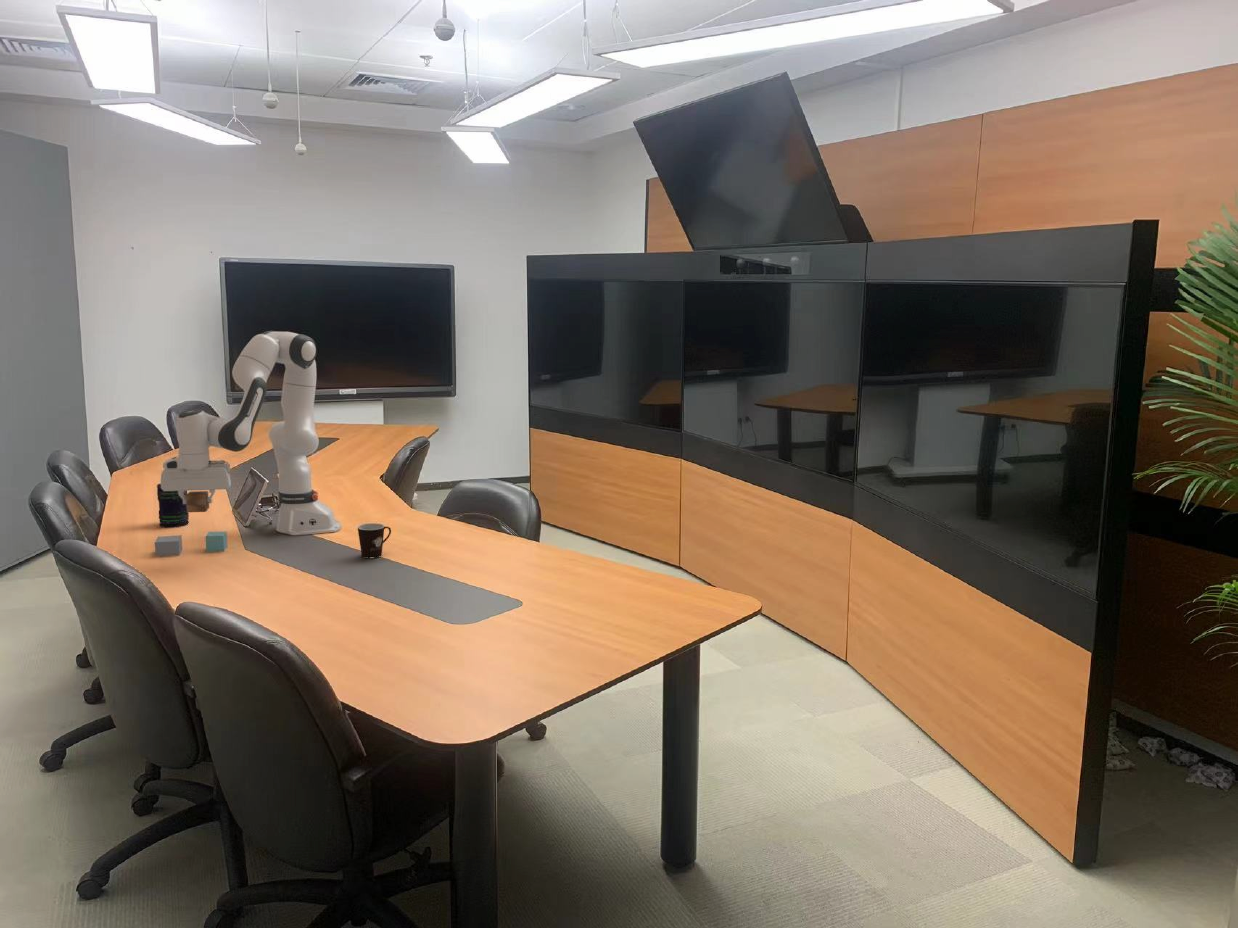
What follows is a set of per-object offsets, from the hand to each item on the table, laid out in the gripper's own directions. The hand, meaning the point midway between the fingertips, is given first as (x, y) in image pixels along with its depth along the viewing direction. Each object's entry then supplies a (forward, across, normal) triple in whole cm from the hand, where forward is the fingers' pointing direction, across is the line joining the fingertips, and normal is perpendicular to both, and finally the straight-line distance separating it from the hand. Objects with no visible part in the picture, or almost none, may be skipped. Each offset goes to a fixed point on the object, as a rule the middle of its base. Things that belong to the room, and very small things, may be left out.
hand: (197, 503), depth 288 cm
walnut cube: (+2, 0, 0) cm, 2 cm away
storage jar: (+19, +18, -45) cm, 52 cm away
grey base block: (+18, +12, -8) cm, 23 cm away
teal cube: (+18, -3, -10) cm, 21 cm away
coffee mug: (+19, -55, +4) cm, 58 cm away
